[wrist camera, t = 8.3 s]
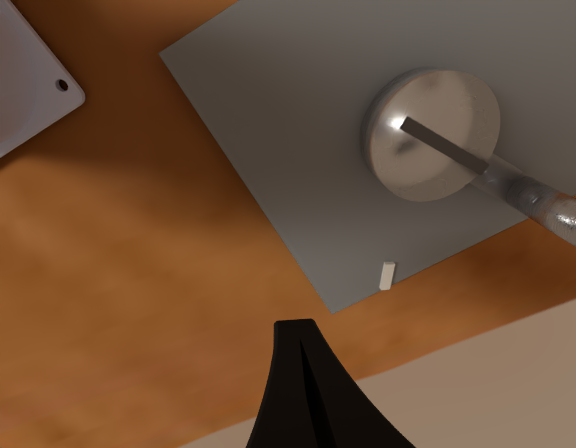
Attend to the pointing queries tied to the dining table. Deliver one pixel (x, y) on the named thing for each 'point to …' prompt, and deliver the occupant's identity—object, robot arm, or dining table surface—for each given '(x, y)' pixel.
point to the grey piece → (451, 146)
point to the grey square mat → (350, 112)
